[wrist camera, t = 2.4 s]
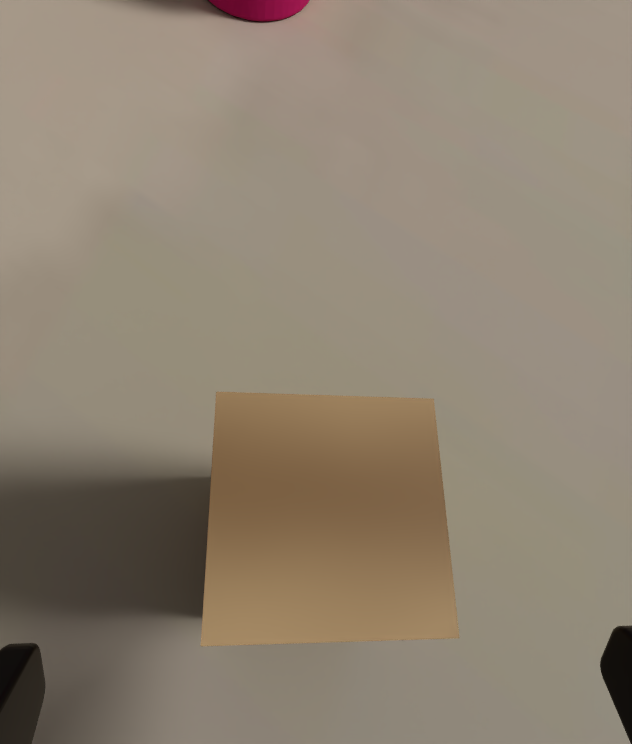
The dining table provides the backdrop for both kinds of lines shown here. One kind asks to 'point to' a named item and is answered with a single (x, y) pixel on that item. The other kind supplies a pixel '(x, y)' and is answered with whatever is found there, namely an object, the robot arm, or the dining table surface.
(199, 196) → the dining table surface
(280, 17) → the pepper mill
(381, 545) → the oak block
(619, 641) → the robot arm
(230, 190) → the dining table surface
